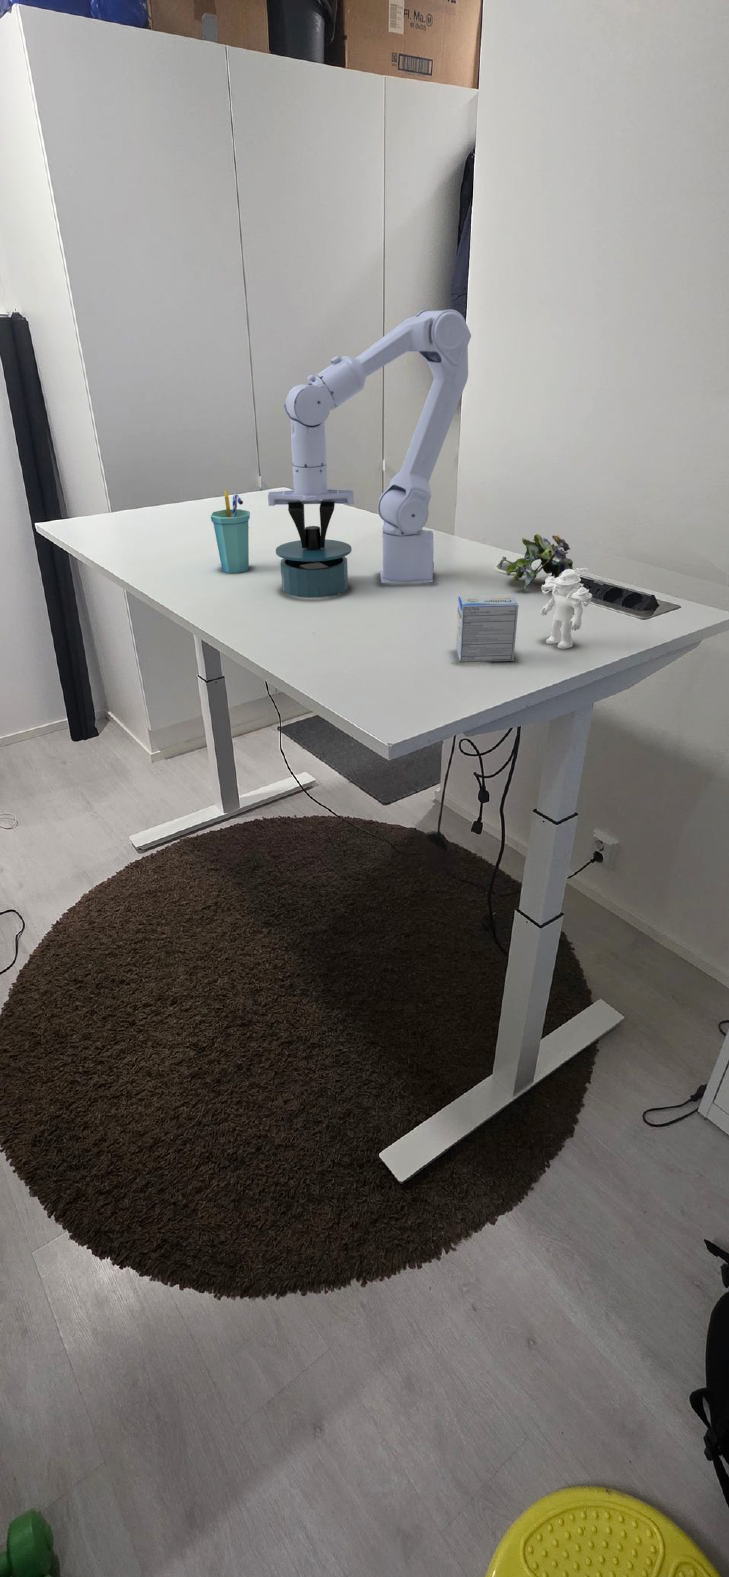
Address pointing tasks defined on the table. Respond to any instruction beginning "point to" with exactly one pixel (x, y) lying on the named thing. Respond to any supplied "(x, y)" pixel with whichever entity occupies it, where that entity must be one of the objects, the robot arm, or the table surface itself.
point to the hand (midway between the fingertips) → (313, 546)
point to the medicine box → (486, 627)
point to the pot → (314, 578)
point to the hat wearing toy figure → (565, 605)
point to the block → (313, 566)
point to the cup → (232, 536)
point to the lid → (313, 548)
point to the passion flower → (543, 550)
